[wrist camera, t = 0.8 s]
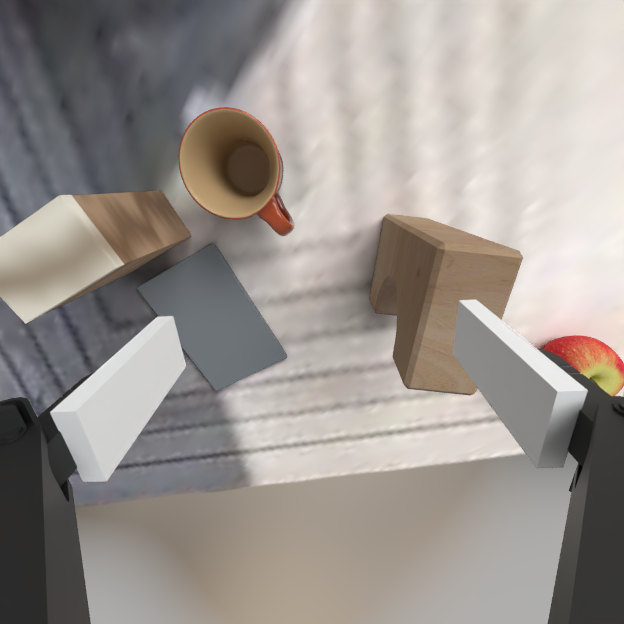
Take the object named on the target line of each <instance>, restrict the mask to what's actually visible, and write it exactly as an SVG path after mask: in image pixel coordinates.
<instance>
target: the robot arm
mask: <svg viewBox="0 0 624 624" xmlns="http://www.w3.org/2000/svg"><path fill="white" fill-rule="evenodd" d="M453 355H454V356H455V358H456V359H457V360H458V362H459V363H460V365H461V366H462V367H463V369H464V370H465V371H466V373H467V374H468V375H469V377H470V378H471V380H472V381H473V382H474V384H475V385H476V386H477V388H478V389H479V390H480V392H481V393H482V395H483V396H484V397H485V399H486V400H487V401H488V403H489V404H490V405H491V407H492V408H493V410H494V411H495V412H496V414H497V415H498V416H499V418H500V419H501V421H502V422H503V423H504V425H505V426H506V427H507V429H508V430H509V431H510V433H511V434H512V436H513V437H514V438H515V440H516V441H517V442H518V444H519V445H520V446H521V448H522V449H523V451H524V452H525V453H526V455H527V456H528V457H529V459H530V460H531V461H532V463H533V464H534V466H535V467H536V468H561V467H564V463H565V460H566V457H567V454H568V451H569V453H570V454H571V455H572V456H573V457H574V458H575V459H576V460H577V462H578V465H577V468H576V471H575V474H574V477H573V480H572V483H571V486H570V489H569V491H570V492H572V493H571V498H570V504H569V509H568V515H567V520H566V526H565V531H564V538H563V542H562V548H561V553H560V559H559V564H558V570H557V575H556V581H555V586H554V592H553V597H552V603H551V609H550V614H549V620H548V624H624V397H621V396H611V395H609V394H608V393H607V392H605V391H604V390H603V389H602V388H600V387H599V386H598V385H596V384H595V383H594V382H592V381H591V380H590V379H588V378H587V377H586V376H585V375H583V374H580V372H579V371H578V370H577V369H575V368H574V367H571V365H570V364H569V363H568V362H566V361H565V360H564V359H562V358H561V357H560V356H558V355H556V354H553V353H551V352H549V351H547V350H545V349H536V348H535V347H534V346H533V345H531V344H530V343H529V342H528V341H527V340H525V339H524V338H523V337H522V336H520V335H519V334H518V333H517V332H516V331H514V330H513V329H512V328H511V327H509V326H508V325H507V324H506V323H504V322H503V321H502V320H501V319H500V318H498V317H497V316H496V315H495V314H493V313H492V312H491V311H490V310H488V309H487V308H486V307H485V306H484V305H482V304H481V303H480V302H479V301H477V300H476V299H475V300H459V302H458V311H457V319H456V328H455V337H454V345H453ZM185 367H186V364H185V360H184V356H183V352H182V348H181V344H180V340H179V336H178V332H177V329H176V325H175V321H174V317H173V316H162V317H156V318H155V319H154V320H153V321H152V322H151V323H150V324H149V325H147V326H146V327H145V328H144V329H143V330H142V331H141V332H140V333H138V334H137V335H136V336H135V337H134V338H133V339H132V340H131V341H129V342H128V343H127V344H126V345H125V346H124V347H123V348H122V349H120V350H119V351H118V352H117V353H116V354H115V355H114V356H113V357H111V358H110V359H109V360H108V361H107V362H106V363H105V364H104V365H102V366H101V367H100V368H99V369H98V370H97V371H95V372H93V373H91V374H90V375H88V376H86V377H84V378H83V379H81V380H80V381H79V382H78V383H77V384H75V385H74V386H73V387H72V388H71V390H68V391H67V392H66V393H65V394H64V395H63V397H60V398H59V399H58V400H57V401H56V402H55V403H53V404H52V405H51V406H50V407H49V408H48V409H47V410H45V411H44V412H43V413H42V414H41V415H40V416H39V417H37V416H36V414H35V412H34V410H33V408H32V406H31V404H30V402H29V401H28V399H27V398H22V397H19V398H11V399H8V400H4V401H0V624H91V623H90V617H89V608H88V601H87V594H86V586H85V579H84V571H83V564H82V558H81V550H80V542H79V535H78V528H77V521H76V513H75V506H74V498H73V491H72V486H71V484H70V482H69V480H68V478H69V477H70V475H71V474H72V473H73V472H74V471H75V469H76V468H77V470H78V472H79V474H80V476H81V479H82V481H83V482H101V481H107V480H108V479H109V477H110V476H111V474H112V473H113V471H114V470H115V469H116V467H117V466H118V464H119V463H120V461H121V460H122V458H123V457H124V455H125V454H126V453H127V451H128V450H129V448H130V447H131V445H132V444H133V442H134V441H135V440H136V438H137V437H138V435H139V434H140V432H141V431H142V429H143V428H144V426H145V425H146V424H147V422H148V421H149V419H150V418H151V416H152V415H153V413H154V412H155V411H156V409H157V408H158V406H159V405H160V403H161V402H162V400H163V399H164V397H165V396H166V395H167V393H168V392H169V390H170V389H171V387H172V386H173V384H174V383H175V382H176V380H177V379H178V377H179V376H180V374H181V373H182V371H183V370H184V368H185Z"/></svg>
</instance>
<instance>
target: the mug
mask: <svg viewBox="0 0 624 624" xmlns="http://www.w3.org/2000/svg"><path fill="white" fill-rule="evenodd" d="M179 168H180V173H181V177H182V180H183V182H184V184H185V187H186V188H187V190H188V192H189V193H190V195H191V196H192V198H193V199H194V200H195V201H196V202H197V203H198V204H199V205H200V206H201V207H202V208H204V209H205V210H206V211H208V212H210V213H212V214H214V215H216V216H219V217H222V218H226V219H245V218H249V217H252V216H253V215H255V214H257V215H258V216H259V217H260V218H261V219H263V220H264V221H266V222H267V223H268V224H269V225H270V226H271V227H272V229H273V230H274V231H275V232H276V233H278V234H279V235H280V236H286V235H288V234H289V233H290V232H292V231H293V229H294V221H293V219H292V217H291V216H290V214H289V213H288V211H287V209H286V208H285V206H284V204H283V201H282V199H281V197H280V196H279V194H278V191H279V189H280V187H281V183H282V179H283V162H282V158H281V156H280V153H279V151H278V149H277V146H276V144H275V142H274V139H273V138H272V136H271V134H270V133H269V131H268V130H267V129H266V127H265V126H264V125H263V124H262V123H261V122H260V121H259V120H257V119H256V118H255V117H253V116H252V115H250V114H248V113H247V112H244V111H242V110H239V109H235V108H227V107H223V108H215V109H212V110H209V111H206V112H204V113H202V114H201V115H199V116H198V117H197V118H196V119H194V120H193V121H192V123H191V124H190V125H189V126H188V128H187V129H186V131H185V133H184V135H183V137H182V140H181V144H180V148H179Z"/></svg>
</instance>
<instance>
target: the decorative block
mask: <svg viewBox="0 0 624 624" xmlns="http://www.w3.org/2000/svg"><path fill="white" fill-rule="evenodd" d="M522 259H523V257H522V255H521V253H520V251H517V250H515V249H512V248H509V247H506V246H503V245H500V244H498V243H495V242H492V241H489V240H486V239H483V238H481V237H478V236H475V235H472V234H469V233H467V232H464V231H461V230H458V229H455V228H453V227H450V226H447V225H444V224H441V223H438V222H436V221H433V220H430V219H426V218H417V217H408V216H400V215H391V214H387V215H386V216H385V217H384V220H383V225H382V231H381V236H380V242H379V247H378V253H377V258H376V264H375V270H374V275H373V281H372V286H371V292H370V297H369V299H370V301H371V304H372V306H373V309H374V311H375V312H376V313H380V314H389V315H397V332H396V339H395V345H394V351H393V359H394V361H395V364H396V366H397V369H398V371H399V374H400V376H401V379H402V381H403V384H404V385H405V386H406V388H407V389H415V390H425V391H434V392H444V393H453V394H463V395H472V394H474V393H475V392H476V390H477V386H476V385H475V384H474V382H473V381H472V380H471V378H470V377H469V375H468V374H467V373H466V371H465V370H464V369H463V367H462V366H461V365H460V363H459V362H458V360H457V359H456V358H455V356H454V355H453V345H454V337H455V328H456V319H457V311H458V302H459V300H475V299H476V300H477V301H479V302H480V303H481V304H482V305H484V306H485V307H486V308H487V309H488V310H490V311H491V312H492V313H493V314H495V315H496V316H497V317H498V318H500V319H501V320H502V317H503V314H504V311H505V308H506V305H507V302H508V299H509V296H510V294H511V291H512V288H513V285H514V282H515V279H516V276H517V273H518V270H519V268H520V265H521V262H522Z"/></svg>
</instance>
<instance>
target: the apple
mask: <svg viewBox="0 0 624 624" xmlns="http://www.w3.org/2000/svg"><path fill="white" fill-rule="evenodd" d="M543 349H545V350H547V351H549V352H551V353H553V354H556V355H558V356H560V357H561V358H562V359H564V360H565V361H566V362H568V363H569V364H570V365H571V367H574V368H575V369H577V370H578V371H579V372H580V374H583V375H585V376H586V377H587V378H588V379H590V380H591V381H592V382H594V383H595V384H596V385H598V386H599V387H600V388H602V389H603V390H604V391H605V392H607V393H608V394H609V395H611V396H615V395H616V394H617V393H618V392H619V391H620V390H621V389H622V388H623V386H624V363H623V361H622V360H621V359H620V357H619V356H618V355H617V354H616V353H615V352H614V351H613V350H612V349H611V348H610V347H609V346H608V345H606V344H605V343H603V342H601V341H599V340H597V339H595V338H591V337H587V336H566V337H561V338H557V339H555V340H552V341H551V342H549V343H548V344H547V345H546V346H545V347H544V348H543Z"/></svg>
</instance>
